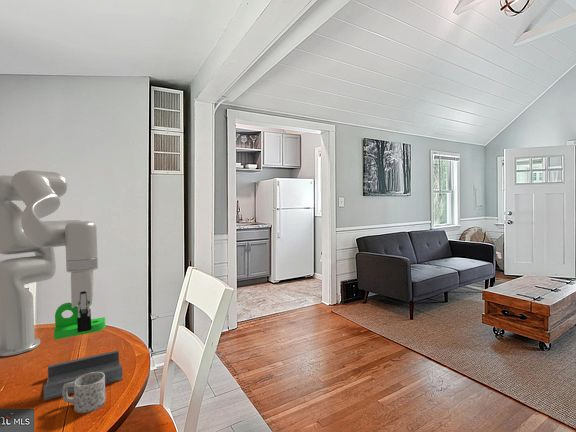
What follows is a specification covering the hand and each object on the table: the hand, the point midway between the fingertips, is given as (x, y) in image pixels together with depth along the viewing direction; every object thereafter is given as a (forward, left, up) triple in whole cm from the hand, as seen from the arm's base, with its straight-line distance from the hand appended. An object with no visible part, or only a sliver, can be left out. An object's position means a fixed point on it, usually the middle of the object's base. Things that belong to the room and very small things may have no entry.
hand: (84, 326), depth 91 cm
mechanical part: (0, -1, -1) cm, 2 cm away
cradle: (0, 0, -15) cm, 15 cm away
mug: (+14, -1, -16) cm, 21 cm away
